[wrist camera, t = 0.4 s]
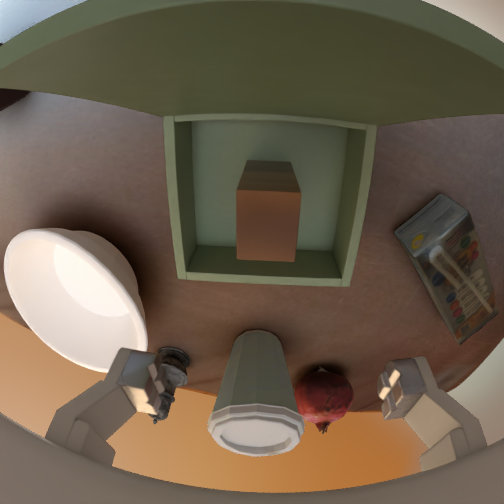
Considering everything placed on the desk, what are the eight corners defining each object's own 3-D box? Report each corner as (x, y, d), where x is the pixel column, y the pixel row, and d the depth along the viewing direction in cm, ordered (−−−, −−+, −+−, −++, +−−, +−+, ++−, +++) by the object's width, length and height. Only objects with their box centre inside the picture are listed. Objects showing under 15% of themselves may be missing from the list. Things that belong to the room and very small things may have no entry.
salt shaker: (192, 372, 42) (177, 436, 32) (157, 364, 42) (136, 426, 32) (192, 350, 40) (174, 420, 29) (154, 341, 39) (129, 408, 29)
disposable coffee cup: (205, 331, 37) (183, 430, 24) (278, 304, 34) (279, 415, 21) (245, 373, 42) (237, 461, 29) (310, 353, 39) (319, 448, 26)
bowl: (23, 257, 33) (-8, 287, 26) (81, 163, 26) (34, 187, 19) (113, 347, 41) (95, 385, 34) (202, 293, 34) (187, 344, 27)
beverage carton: (442, 187, 25) (475, 211, 20) (480, 287, 32) (502, 316, 26) (390, 229, 28) (414, 262, 23) (441, 318, 35) (458, 350, 29)
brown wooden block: (246, 159, 25) (235, 189, 17) (291, 161, 25) (301, 192, 17) (245, 210, 27) (236, 259, 20) (287, 212, 27) (294, 262, 20)
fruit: (325, 351, 38) (334, 410, 30) (359, 374, 41) (370, 426, 33) (279, 378, 42) (279, 433, 33) (316, 397, 45) (320, 446, 36)
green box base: (337, 254, 30) (349, 287, 25) (191, 248, 31) (177, 279, 26) (355, 115, 23) (378, 120, 18) (184, 108, 24) (162, 111, 18)
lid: (567, 116, 3) (563, 90, 3) (-28, 87, 3) (-23, 61, 3) (380, 126, 18) (380, 116, 17) (160, 116, 18) (160, 106, 18)
